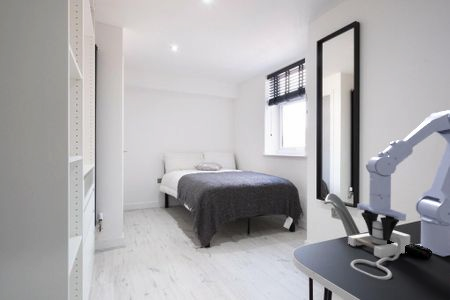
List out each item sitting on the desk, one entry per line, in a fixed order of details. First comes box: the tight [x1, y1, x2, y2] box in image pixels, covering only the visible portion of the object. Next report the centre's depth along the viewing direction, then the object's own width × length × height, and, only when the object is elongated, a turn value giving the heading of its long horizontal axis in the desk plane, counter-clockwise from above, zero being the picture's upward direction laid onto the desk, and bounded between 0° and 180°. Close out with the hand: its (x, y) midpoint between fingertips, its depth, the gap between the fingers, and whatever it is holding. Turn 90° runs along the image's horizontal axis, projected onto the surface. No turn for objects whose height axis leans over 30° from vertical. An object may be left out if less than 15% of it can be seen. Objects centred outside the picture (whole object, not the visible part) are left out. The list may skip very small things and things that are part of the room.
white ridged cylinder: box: [372, 220, 387, 246], centre depth 77 cm, size 4×4×6 cm
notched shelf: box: [347, 230, 411, 259], centre depth 76 cm, size 13×11×5 cm
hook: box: [350, 235, 401, 281], centre depth 65 cm, size 7×9×20 cm
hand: (379, 237), depth 77 cm, fingers closed on white ridged cylinder, 4 cm apart
